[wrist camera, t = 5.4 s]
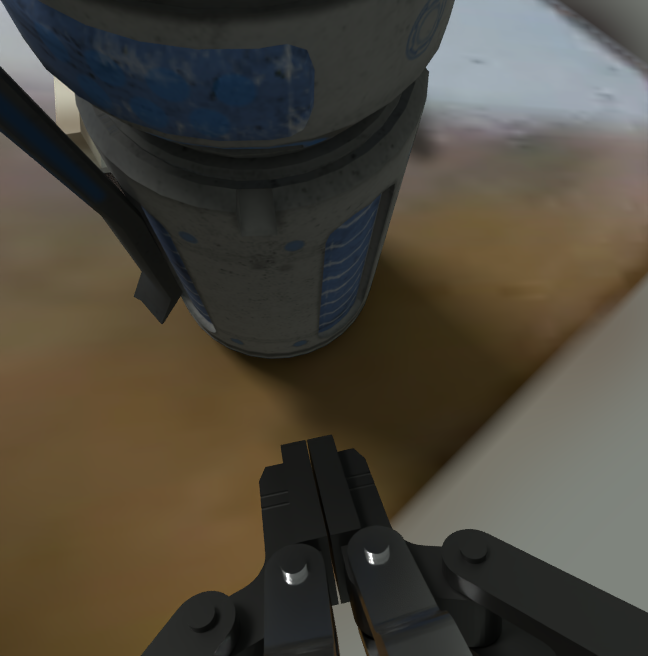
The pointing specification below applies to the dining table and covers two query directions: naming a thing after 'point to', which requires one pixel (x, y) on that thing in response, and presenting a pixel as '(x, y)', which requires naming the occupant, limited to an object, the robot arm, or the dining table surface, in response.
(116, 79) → the beverage bottle
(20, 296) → the dining table surface
